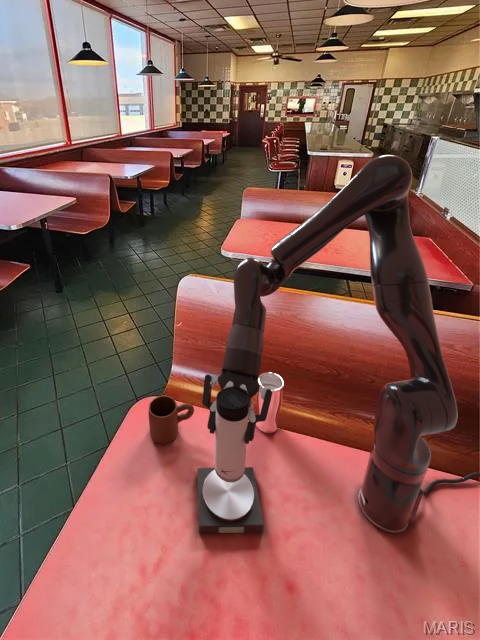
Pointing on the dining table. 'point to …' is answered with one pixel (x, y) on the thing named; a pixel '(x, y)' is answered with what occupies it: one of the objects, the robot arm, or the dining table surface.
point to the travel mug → (231, 433)
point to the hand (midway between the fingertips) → (229, 437)
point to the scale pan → (228, 497)
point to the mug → (166, 418)
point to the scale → (215, 525)
